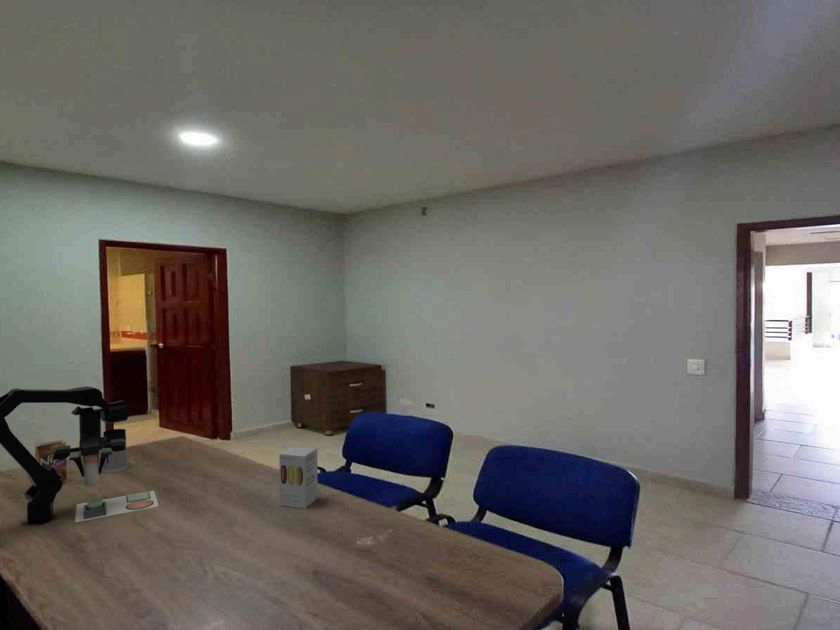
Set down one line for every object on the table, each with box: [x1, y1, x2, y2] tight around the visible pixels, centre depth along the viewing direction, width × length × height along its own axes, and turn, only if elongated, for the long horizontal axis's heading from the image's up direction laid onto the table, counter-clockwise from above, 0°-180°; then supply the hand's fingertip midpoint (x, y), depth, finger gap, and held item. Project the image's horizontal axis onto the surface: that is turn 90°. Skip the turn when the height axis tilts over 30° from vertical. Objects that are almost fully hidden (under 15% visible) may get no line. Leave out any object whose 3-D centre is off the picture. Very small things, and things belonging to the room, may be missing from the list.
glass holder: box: [99, 428, 129, 474], centre depth 197 cm, size 9×14×15 cm, turn 148°
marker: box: [82, 453, 100, 486], centre depth 161 cm, size 4×4×10 cm
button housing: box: [83, 501, 106, 519], centre depth 155 cm, size 6×6×2 cm
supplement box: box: [278, 446, 318, 509], centre depth 165 cm, size 10×9×17 cm
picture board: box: [74, 490, 160, 523], centre depth 162 cm, size 22×16×1 cm
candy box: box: [34, 439, 68, 484], centre depth 182 cm, size 9×4×15 cm, turn 134°
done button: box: [86, 499, 103, 510], centre depth 155 cm, size 4×4×2 cm
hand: (91, 475), depth 161 cm, fingers closed on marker, 4 cm apart
